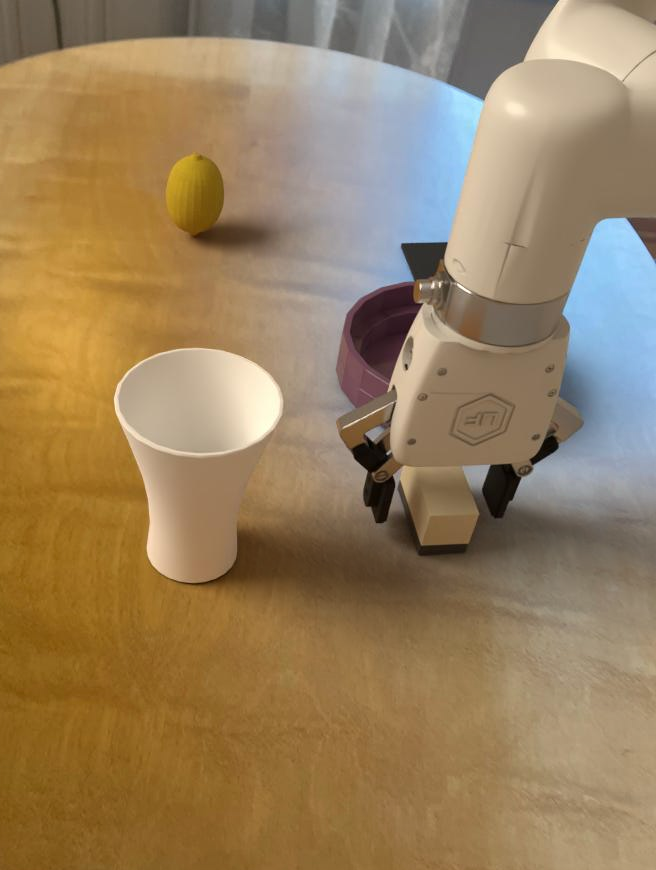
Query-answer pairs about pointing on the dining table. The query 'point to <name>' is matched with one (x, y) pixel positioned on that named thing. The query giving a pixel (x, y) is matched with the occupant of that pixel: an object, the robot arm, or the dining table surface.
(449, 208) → the dining table surface
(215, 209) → the lemon
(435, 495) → the eraser
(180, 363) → the cup
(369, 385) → the bowl
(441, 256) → the mat
